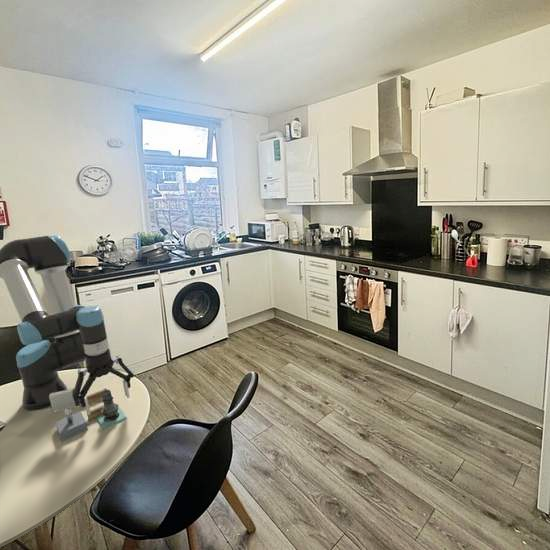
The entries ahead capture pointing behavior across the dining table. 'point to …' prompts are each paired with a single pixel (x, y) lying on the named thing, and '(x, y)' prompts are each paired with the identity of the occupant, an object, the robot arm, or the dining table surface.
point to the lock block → (71, 426)
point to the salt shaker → (109, 407)
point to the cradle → (93, 398)
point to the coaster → (107, 424)
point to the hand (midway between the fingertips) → (108, 404)
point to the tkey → (64, 402)
